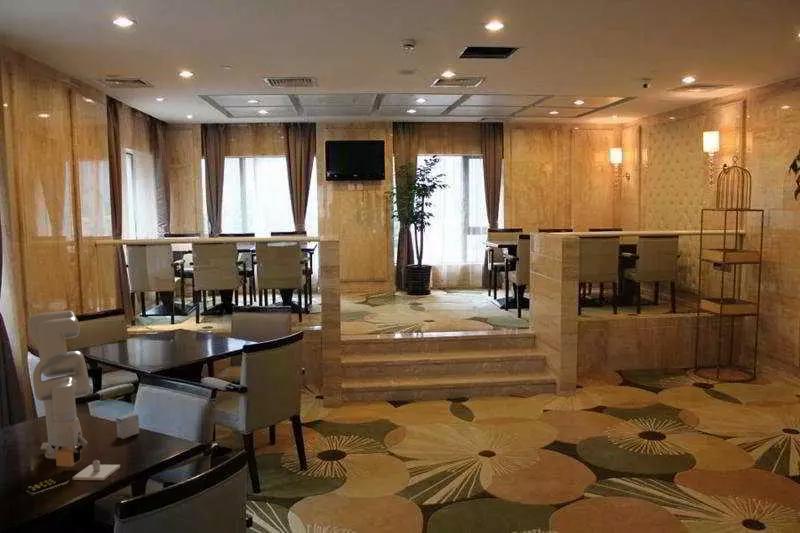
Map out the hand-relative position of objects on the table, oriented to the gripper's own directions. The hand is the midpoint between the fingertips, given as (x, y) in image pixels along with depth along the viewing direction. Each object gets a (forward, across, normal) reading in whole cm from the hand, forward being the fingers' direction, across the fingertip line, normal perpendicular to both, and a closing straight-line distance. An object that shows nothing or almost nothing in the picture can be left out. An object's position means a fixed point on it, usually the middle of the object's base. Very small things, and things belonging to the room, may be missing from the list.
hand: (69, 460), depth 234 cm
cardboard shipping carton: (+1, 0, 0) cm, 1 cm away
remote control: (+4, +1, -14) cm, 15 cm away
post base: (+3, +13, -3) cm, 14 cm away
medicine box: (+5, +4, +35) cm, 36 cm away
